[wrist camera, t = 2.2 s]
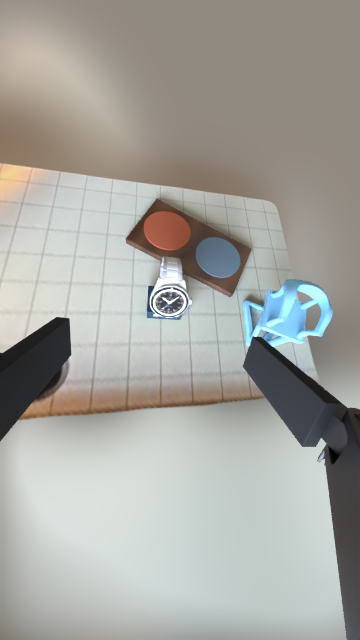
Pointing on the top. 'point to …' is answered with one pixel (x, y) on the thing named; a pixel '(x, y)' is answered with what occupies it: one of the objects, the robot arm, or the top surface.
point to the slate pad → (217, 257)
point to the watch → (168, 292)
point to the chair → (287, 313)
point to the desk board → (189, 249)
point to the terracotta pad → (167, 230)
